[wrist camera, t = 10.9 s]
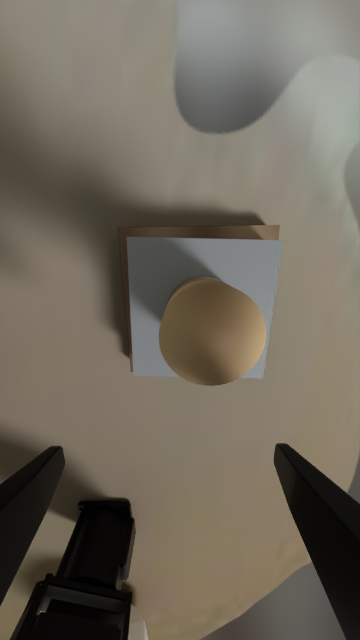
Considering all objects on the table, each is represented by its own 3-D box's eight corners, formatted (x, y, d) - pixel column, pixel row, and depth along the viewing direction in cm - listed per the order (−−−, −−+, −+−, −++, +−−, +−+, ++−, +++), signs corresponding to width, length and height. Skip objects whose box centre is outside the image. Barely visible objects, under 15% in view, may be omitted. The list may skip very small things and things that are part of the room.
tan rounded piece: (168, 346, 15) (162, 387, 10) (164, 277, 14) (154, 287, 9) (236, 344, 15) (262, 383, 10) (239, 274, 14) (270, 282, 9)
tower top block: (139, 360, 18) (133, 375, 16) (135, 240, 15) (126, 236, 13) (251, 363, 18) (262, 378, 16) (267, 243, 15) (283, 240, 13)
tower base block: (136, 359, 21) (131, 371, 18) (126, 232, 18) (117, 227, 15) (254, 357, 21) (264, 370, 18) (266, 230, 17) (279, 224, 15)
